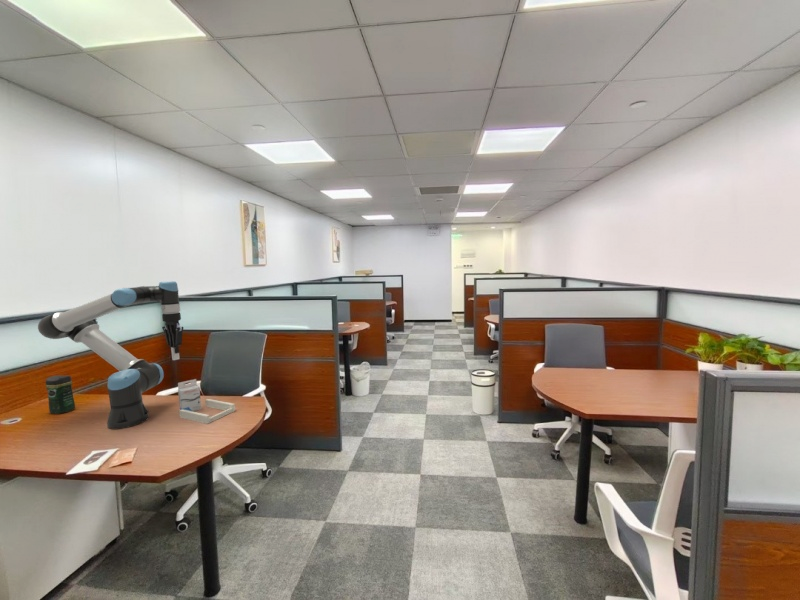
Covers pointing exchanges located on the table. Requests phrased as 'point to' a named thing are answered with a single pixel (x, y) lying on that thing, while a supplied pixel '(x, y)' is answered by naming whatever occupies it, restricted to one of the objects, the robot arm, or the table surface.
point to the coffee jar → (60, 394)
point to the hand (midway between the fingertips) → (176, 359)
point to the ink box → (189, 395)
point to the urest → (206, 418)
